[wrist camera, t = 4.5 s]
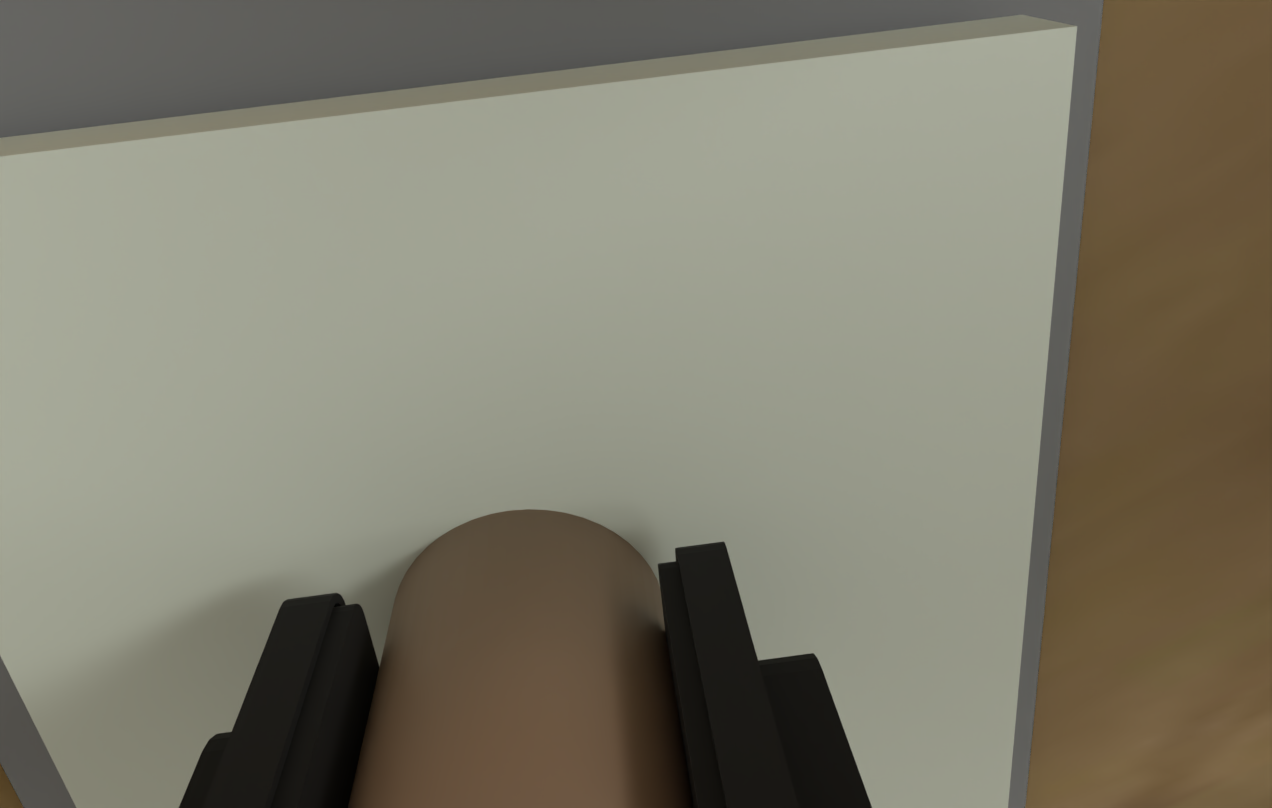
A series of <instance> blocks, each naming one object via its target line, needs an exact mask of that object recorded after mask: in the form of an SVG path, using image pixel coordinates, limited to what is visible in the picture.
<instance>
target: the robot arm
mask: <svg viewBox="0 0 1272 808" xmlns="http://www.w3.org/2000/svg"><path fill="white" fill-rule="evenodd" d="M675 556H676V561H674V562H666V563H659V564H658V573H659V582H660V590H661V599H662V608H663V616H664V625H665V633H666V640H667V646H668V652H669V658H670V664H671V671H672V677H673V683H674V689H675V696H676V702H677V708H678V714H679V721H680V727H681V733H682V739H683V746H684V752H685V758H686V764H687V770H688V777H689V783H690V789H691V795H692V802H693V808H872V806H871V803H870V800H869V798H868V795H867V792H866V789H865V787H864V784H863V781H862V778H861V775H860V773H859V770H858V767H857V764H856V762H855V759H854V756H853V753H852V750H851V748H850V745H849V742H848V739H847V737H846V734H845V731H844V728H843V726H842V723H841V720H840V717H839V714H838V712H837V709H836V706H835V703H834V701H833V698H832V695H831V692H830V689H829V687H828V684H827V681H826V678H825V676H824V673H823V670H822V667H821V665H820V663H819V661H818V658H817V657H816V656H815V654H814V653H810V654H803V655H795V656H788V657H780V658H773V659H765V660H758V659H757V655H756V651H755V648H754V644H753V641H752V637H751V633H750V630H749V626H748V623H747V619H746V616H745V612H744V608H743V605H742V601H741V598H740V594H739V590H738V587H737V583H736V580H735V576H734V572H733V569H732V565H731V562H730V558H729V554H728V551H727V547H726V545H725V542H724V541H723V542H716V543H708V544H701V545H693V546H686V547H678V548H675ZM378 671H379V664H378V660H377V657H376V653H375V649H374V646H373V642H372V639H371V635H370V632H369V628H368V625H367V621H366V618H365V614H364V612H363V609H362V607H361V606H360V605H359V604H350V605H346V604H345V601H344V599H343V598H342V596H341V595H340V594H338V593H331V594H323V595H316V596H308V597H301V598H293V599H287V600H285V601H283V603H282V605H281V607H280V609H279V611H278V614H277V616H276V619H275V621H274V624H273V627H272V629H271V632H270V634H269V637H268V639H267V642H266V645H265V647H264V650H263V652H262V655H261V657H260V660H259V663H258V665H257V668H256V670H255V673H254V675H253V678H252V681H251V683H250V686H249V688H248V691H247V693H246V696H245V699H244V701H243V704H242V706H241V709H240V711H239V714H238V717H237V719H236V722H235V724H234V727H233V729H232V732H226V733H219V734H216V735H214V736H213V737H212V738H211V739H209V740H208V742H207V744H206V746H205V747H204V749H203V751H202V753H201V755H200V758H199V760H198V762H197V765H196V767H195V770H194V772H193V774H192V777H191V779H190V782H189V784H188V786H187V789H186V791H185V794H184V796H183V799H182V801H181V803H180V806H179V808H348V804H349V800H350V795H351V791H352V786H353V782H354V778H355V773H356V769H357V764H358V760H359V755H360V751H361V747H362V742H363V738H364V733H365V729H366V725H367V720H368V716H369V711H370V707H371V702H372V698H373V694H374V689H375V685H376V680H377V676H378Z"/></svg>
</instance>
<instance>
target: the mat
mask: <svg viewBox="0 0 1272 808" xmlns="http://www.w3.org/2000/svg"><path fill="white" fill-rule="evenodd" d="M1103 1H1104V0H0V138H3V137H12V136H20V135H28V134H36V133H45V132H53V131H61V130H70V129H78V128H86V127H94V126H103V125H111V124H119V123H128V122H136V121H144V120H152V119H161V118H169V117H177V116H186V115H194V114H202V113H210V112H219V111H227V110H235V109H244V108H252V107H260V106H269V105H277V104H285V103H293V102H302V101H310V100H318V99H327V98H335V97H343V96H351V95H360V94H368V93H376V92H385V91H393V90H401V89H409V88H418V87H426V86H434V85H443V84H451V83H459V82H467V81H476V80H484V79H492V78H501V77H509V76H517V75H525V74H534V73H542V72H550V71H559V70H567V69H575V68H584V67H592V66H600V65H608V64H617V63H625V62H633V61H642V60H650V59H658V58H666V57H675V56H683V55H691V54H700V53H708V52H716V51H724V50H733V49H741V48H749V47H758V46H766V45H774V44H782V43H791V42H799V41H807V40H816V39H824V38H832V37H840V36H849V35H857V34H865V33H874V32H882V31H890V30H899V29H907V28H915V27H923V26H932V25H940V24H948V23H957V22H965V21H973V20H981V19H990V18H998V17H1006V16H1015V15H1026V16H1031V17H1036V18H1041V19H1045V20H1050V21H1055V22H1060V23H1064V24H1069V25H1074V26H1077V35H1076V46H1075V57H1074V68H1073V80H1072V91H1071V102H1070V114H1069V125H1068V136H1067V147H1066V159H1065V170H1064V181H1063V193H1062V204H1061V215H1060V226H1059V238H1058V249H1057V260H1056V272H1055V283H1054V294H1053V305H1052V317H1051V328H1050V339H1049V350H1048V362H1047V373H1046V384H1045V396H1044V407H1043V418H1042V429H1041V441H1040V452H1039V463H1038V475H1037V486H1036V497H1035V508H1034V520H1033V531H1032V542H1031V554H1030V565H1029V576H1028V587H1027V599H1026V610H1025V621H1024V633H1023V644H1022V655H1021V666H1020V678H1019V689H1018V700H1017V711H1016V723H1015V734H1014V745H1013V757H1012V768H1011V779H1010V790H1009V802H1008V808H1025V805H1026V795H1027V784H1028V774H1029V764H1030V753H1031V743H1032V733H1033V723H1034V712H1035V702H1036V692H1037V681H1038V671H1039V661H1040V650H1041V640H1042V630H1043V620H1044V609H1045V599H1046V589H1047V578H1048V568H1049V558H1050V547H1051V537H1052V527H1053V516H1054V506H1055V496H1056V486H1057V475H1058V465H1059V455H1060V444H1061V434H1062V424H1063V413H1064V403H1065V393H1066V383H1067V372H1068V362H1069V352H1070V341H1071V331H1072V321H1073V310H1074V300H1075V290H1076V279H1077V269H1078V259H1079V249H1080V238H1081V228H1082V218H1083V207H1084V197H1085V187H1086V176H1087V166H1088V156H1089V146H1090V135H1091V125H1092V115H1093V104H1094V94H1095V84H1096V73H1097V63H1098V53H1099V42H1100V32H1101V22H1102V12H1103ZM0 764H1V766H2V767H3V769H4V771H5V773H6V775H7V777H8V779H9V781H10V782H11V784H12V786H13V788H14V790H15V792H16V794H17V796H18V798H19V799H20V801H21V803H22V805H23V807H24V808H76V806H75V804H74V802H73V800H72V798H71V796H70V794H69V792H68V790H67V788H66V786H65V784H64V782H63V780H62V778H61V776H60V774H59V772H58V770H57V768H56V766H55V764H54V762H53V760H52V758H51V756H50V754H49V752H48V750H47V748H46V746H45V744H44V742H43V740H42V738H41V736H40V734H39V732H38V730H37V728H36V726H35V724H34V722H33V720H32V718H31V716H30V714H29V712H28V710H27V708H26V706H25V704H24V702H23V700H22V698H21V696H20V694H19V692H18V690H17V688H16V686H15V684H14V682H13V680H12V678H11V676H10V674H9V672H8V670H7V668H6V666H5V664H4V662H3V660H2V658H1V656H0Z"/></svg>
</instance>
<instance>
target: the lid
mask: <svg viewBox="0 0 1272 808" xmlns="http://www.w3.org/2000/svg"><path fill="white" fill-rule="evenodd" d="M1076 35H1077V26H1074V25H1069V24H1064V23H1060V22H1055V21H1050V20H1045V19H1041V18H1036V17H1031V16H1026V15H1015V16H1006V17H998V18H990V19H981V20H973V21H965V22H957V23H948V24H940V25H932V26H923V27H915V28H907V29H899V30H890V31H882V32H874V33H865V34H857V35H849V36H840V37H832V38H824V39H816V40H807V41H799V42H791V43H782V44H774V45H766V46H758V47H749V48H741V49H733V50H724V51H716V52H708V53H700V54H691V55H683V56H675V57H666V58H658V59H650V60H642V61H633V62H625V63H617V64H608V65H600V66H592V67H584V68H575V69H567V70H559V71H550V72H542V73H534V74H525V75H517V76H509V77H501V78H492V79H484V80H476V81H467V82H459V83H451V84H443V85H434V86H426V87H418V88H409V89H401V90H393V91H385V92H376V93H368V94H360V95H351V96H343V97H335V98H327V99H318V100H310V101H302V102H293V103H285V104H277V105H269V106H260V107H252V108H244V109H235V110H227V111H219V112H210V113H202V114H194V115H186V116H177V117H169V118H161V119H152V120H144V121H136V122H128V123H119V124H111V125H103V126H94V127H86V128H78V129H70V130H61V131H53V132H45V133H36V134H28V135H20V136H12V137H3V138H0V656H1V658H2V660H3V662H4V664H5V666H6V668H7V670H8V672H9V674H10V676H11V678H12V680H13V682H14V684H15V686H16V688H17V690H18V692H19V694H20V696H21V698H22V700H23V702H24V704H25V706H26V708H27V710H28V712H29V714H30V716H31V718H32V720H33V722H34V724H35V726H36V728H37V730H38V732H39V734H40V736H41V738H42V740H43V742H44V744H45V746H46V748H47V750H48V752H49V754H50V756H51V758H52V760H53V762H54V764H55V766H56V768H57V770H58V772H59V774H60V776H61V778H62V780H63V782H64V784H65V786H66V788H67V790H68V792H69V794H70V796H71V798H72V800H73V802H74V804H75V806H76V808H179V806H180V803H181V801H182V799H183V796H184V794H185V791H186V789H187V786H188V784H189V782H190V779H191V777H192V774H193V772H194V770H195V767H196V765H197V762H198V760H199V758H200V755H201V753H202V751H203V749H204V747H205V746H206V744H207V742H208V740H209V739H211V738H212V737H213V736H214V735H216V734H219V733H226V732H232V729H233V727H234V724H235V722H236V719H237V717H238V714H239V711H240V709H241V706H242V704H243V701H244V699H245V696H246V693H247V691H248V688H249V686H250V683H251V681H252V678H253V675H254V673H255V670H256V668H257V665H258V663H259V660H260V657H261V655H262V652H263V650H264V647H265V645H266V642H267V639H268V637H269V634H270V632H271V629H272V627H273V624H274V621H275V619H276V616H277V614H278V611H279V609H280V607H281V605H282V603H283V601H285V600H287V599H293V598H301V597H308V596H316V595H323V594H331V593H338V594H340V595H341V596H342V598H343V599H344V601H345V604H346V605H350V604H359V605H360V606H361V607H362V609H363V612H364V614H365V618H366V621H367V625H368V628H369V632H370V635H371V639H372V642H373V646H374V649H375V653H376V657H377V660H378V664H379V671H378V676H377V680H376V685H375V689H374V694H373V698H372V702H371V707H370V711H369V716H368V720H367V725H366V729H365V733H364V738H363V742H362V747H361V751H360V755H359V760H358V764H357V769H356V773H355V778H354V782H353V786H352V791H351V795H350V800H349V804H348V808H693V802H692V795H691V789H690V783H689V777H688V770H687V764H686V758H685V752H684V746H683V739H682V733H681V727H680V721H679V714H678V708H677V702H676V696H675V689H674V683H673V677H672V671H671V664H670V658H669V652H668V646H667V640H666V633H665V625H664V616H663V608H662V599H661V590H660V582H659V573H658V564H659V563H666V562H674V561H676V556H675V548H678V547H686V546H693V545H701V544H708V543H716V542H723V541H724V542H725V545H726V547H727V551H728V554H729V558H730V562H731V565H732V569H733V572H734V576H735V580H736V583H737V587H738V590H739V594H740V598H741V601H742V605H743V608H744V612H745V616H746V619H747V623H748V626H749V630H750V633H751V637H752V641H753V644H754V648H755V651H756V655H757V659H758V660H765V659H773V658H780V657H788V656H795V655H803V654H810V653H814V654H815V656H816V657H817V658H818V661H819V663H820V665H821V667H822V670H823V673H824V676H825V678H826V681H827V684H828V687H829V689H830V692H831V695H832V698H833V701H834V703H835V706H836V709H837V712H838V714H839V717H840V720H841V723H842V726H843V728H844V731H845V734H846V737H847V739H848V742H849V745H850V748H851V750H852V753H853V756H854V759H855V762H856V764H857V767H858V770H859V773H860V775H861V778H862V781H863V784H864V787H865V789H866V792H867V795H868V798H869V800H870V803H871V806H872V808H1008V802H1009V790H1010V779H1011V768H1012V757H1013V745H1014V734H1015V723H1016V711H1017V700H1018V689H1019V678H1020V666H1021V655H1022V644H1023V633H1024V621H1025V610H1026V599H1027V587H1028V576H1029V565H1030V554H1031V542H1032V531H1033V520H1034V508H1035V497H1036V486H1037V475H1038V463H1039V452H1040V441H1041V429H1042V418H1043V407H1044V396H1045V384H1046V373H1047V362H1048V350H1049V339H1050V328H1051V317H1052V305H1053V294H1054V283H1055V272H1056V260H1057V249H1058V238H1059V226H1060V215H1061V204H1062V193H1063V181H1064V170H1065V159H1066V147H1067V136H1068V125H1069V114H1070V102H1071V91H1072V80H1073V68H1074V57H1075V46H1076Z"/></svg>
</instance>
